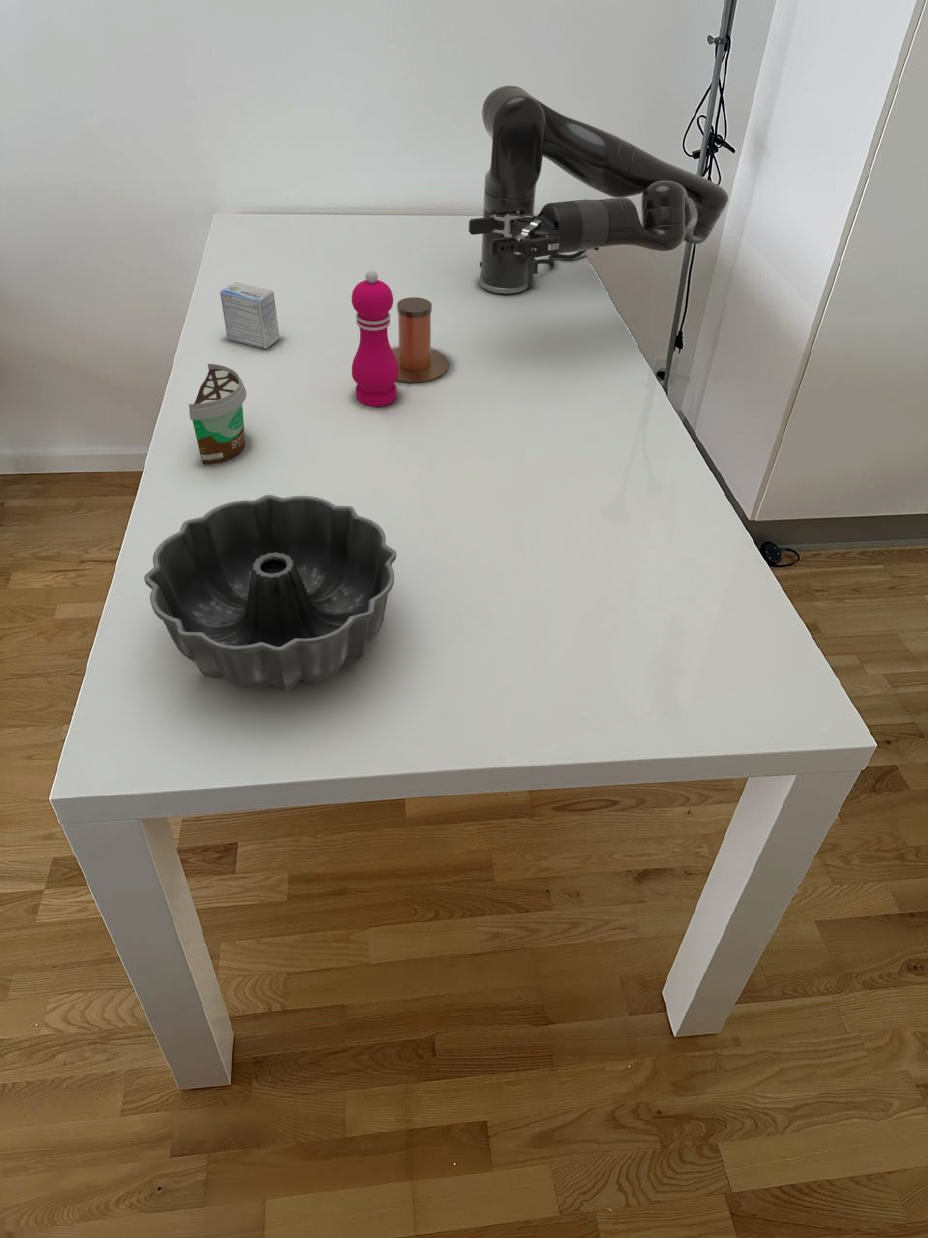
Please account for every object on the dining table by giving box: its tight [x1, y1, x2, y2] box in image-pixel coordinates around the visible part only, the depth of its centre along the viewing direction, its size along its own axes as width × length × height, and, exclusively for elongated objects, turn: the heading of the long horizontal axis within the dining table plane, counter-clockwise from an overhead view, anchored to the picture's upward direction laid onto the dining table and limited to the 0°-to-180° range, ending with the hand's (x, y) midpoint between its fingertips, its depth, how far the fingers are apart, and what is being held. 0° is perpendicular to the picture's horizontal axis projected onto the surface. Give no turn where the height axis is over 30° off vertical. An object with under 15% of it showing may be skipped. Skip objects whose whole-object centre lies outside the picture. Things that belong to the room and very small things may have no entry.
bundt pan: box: [143, 494, 397, 692], centre depth 102 cm, size 26×26×10 cm
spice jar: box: [396, 296, 433, 370], centre depth 149 cm, size 6×6×10 cm
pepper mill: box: [351, 269, 399, 408], centre depth 138 cm, size 7×7×20 cm
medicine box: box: [219, 281, 280, 350], centre depth 154 cm, size 8×4×9 cm, turn 65°
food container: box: [188, 363, 247, 465], centre depth 129 cm, size 12×6×10 cm, turn 179°
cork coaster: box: [391, 347, 450, 384], centre depth 152 cm, size 12×12×1 cm
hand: (480, 236), depth 142 cm, fingers open, 8 cm apart
